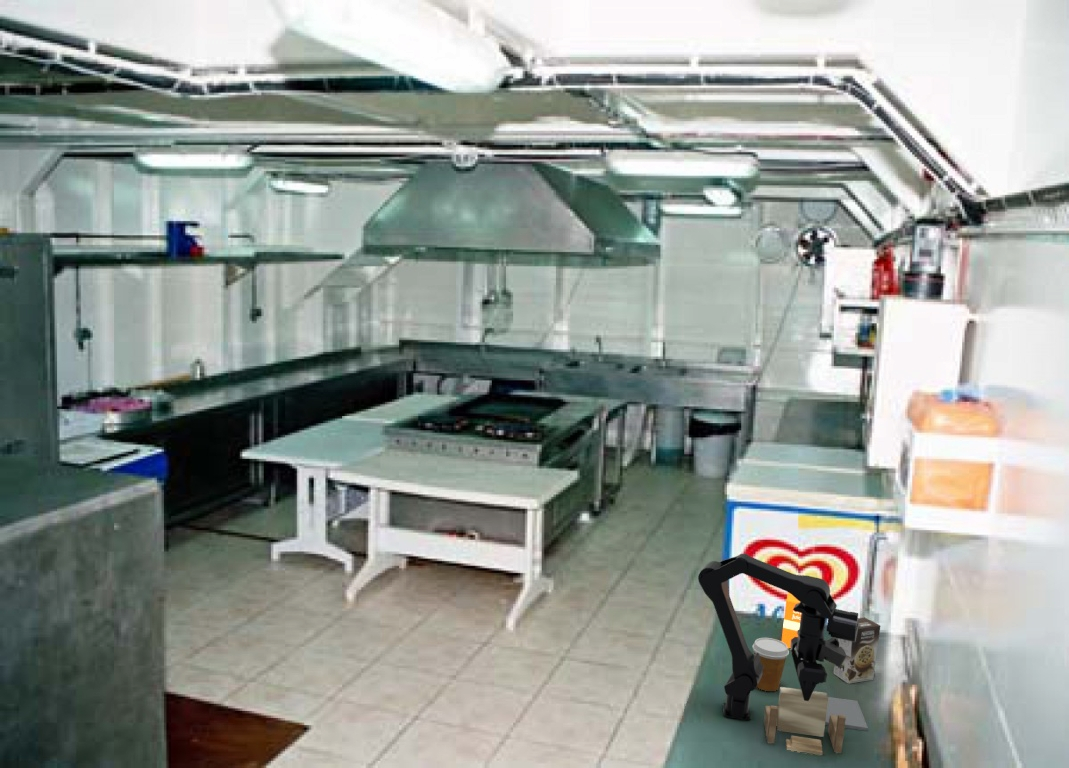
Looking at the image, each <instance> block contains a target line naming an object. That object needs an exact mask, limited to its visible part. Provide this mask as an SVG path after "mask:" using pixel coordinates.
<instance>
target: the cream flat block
mask: <svg viewBox="0 0 1069 768" xmlns="http://www.w3.org/2000/svg"><path fill="white" fill-rule="evenodd" d="M828 697H829V695H828V694H827V692H822V691H813V693H812V695H811V697H810V699H809V701H804V698H803V694H802V690H801V688H800V689H799V688H792V687H784V686H779V695H778V705H777V707H778V714H777V723H776V726H777V727H776V730H779V731H778V732H783V733H784V732H785V733H786V732H787V733H791V734H793V733H794V734H799V735H807V736H814V737H815V736H816V737H823V738H824V736H825V729H826V728H825V727H826V725H825V721H826V713H827V705H828Z"/></svg>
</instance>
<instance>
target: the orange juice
mask: <svg viewBox="0 0 1069 768" xmlns="http://www.w3.org/2000/svg"><path fill="white" fill-rule="evenodd" d="M799 602H800V601H798V600H797V599H796V598H795V597H794V596H793V595H792V594H790V593H789V592H787V596H786V600H785V608H784V609H785V610H784V618H783V626H782V634H781V635H782V636H781V641H782V642H784V643H785V644H786V645H787V647H788V649H789V648H790V643H791V639H792V638H794V637H798V635H797V631H798V630H799V627H800V619H801V613H800V612H795V611H793V608H794V606H795V605H796V604H797V603H799Z"/></svg>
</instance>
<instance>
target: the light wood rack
mask: <svg viewBox="0 0 1069 768" xmlns="http://www.w3.org/2000/svg"><path fill="white" fill-rule="evenodd" d="M777 714H778V705H765V709H764V717H763V726H764V725H765V727H764V732H765V731H766V733H765V737H766V736H767V738H766V743H767V742H769V743H774V744H775V739H776V738H775V737H776V732H777V731H776V730H777V727H776V723H777ZM845 721H846V718H845V715H839V714H838V719H837V716H836V715H831V714H830V719H829V726H828V729H827V733H828V737H829V739H830V743H831V746H832V748H833V752H836V753H835V754H838V753H841V754H842V750H843V744H844V743H843V741H844V735H845V729H846V728H845Z"/></svg>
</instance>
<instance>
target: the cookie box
mask: <svg viewBox="0 0 1069 768" xmlns="http://www.w3.org/2000/svg"><path fill="white" fill-rule="evenodd" d="M858 624H859V625H858V631H857V637H856V641H855V642H851V641H847V640H843V639H839V638H837V639H838V641H839V647H842V649H843V650H844V651H845V653H846V656H847V657H846V658H845V660H844V662H843V664H842V665H841V667H837V666H836V665H835V664H834V667H833V675H835V676H836V677H838V678H840V679H841V680H842V681H843V682H845V683H846V684H850V685H851V684H855V683H861V682H867V681H873V680H874V675H875V669H876V660H877V652H878V646H879V639H880V632H881V625H880V624H879V623H876V622H874V621H872V620H870V619H868V618H866V617H858Z"/></svg>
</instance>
